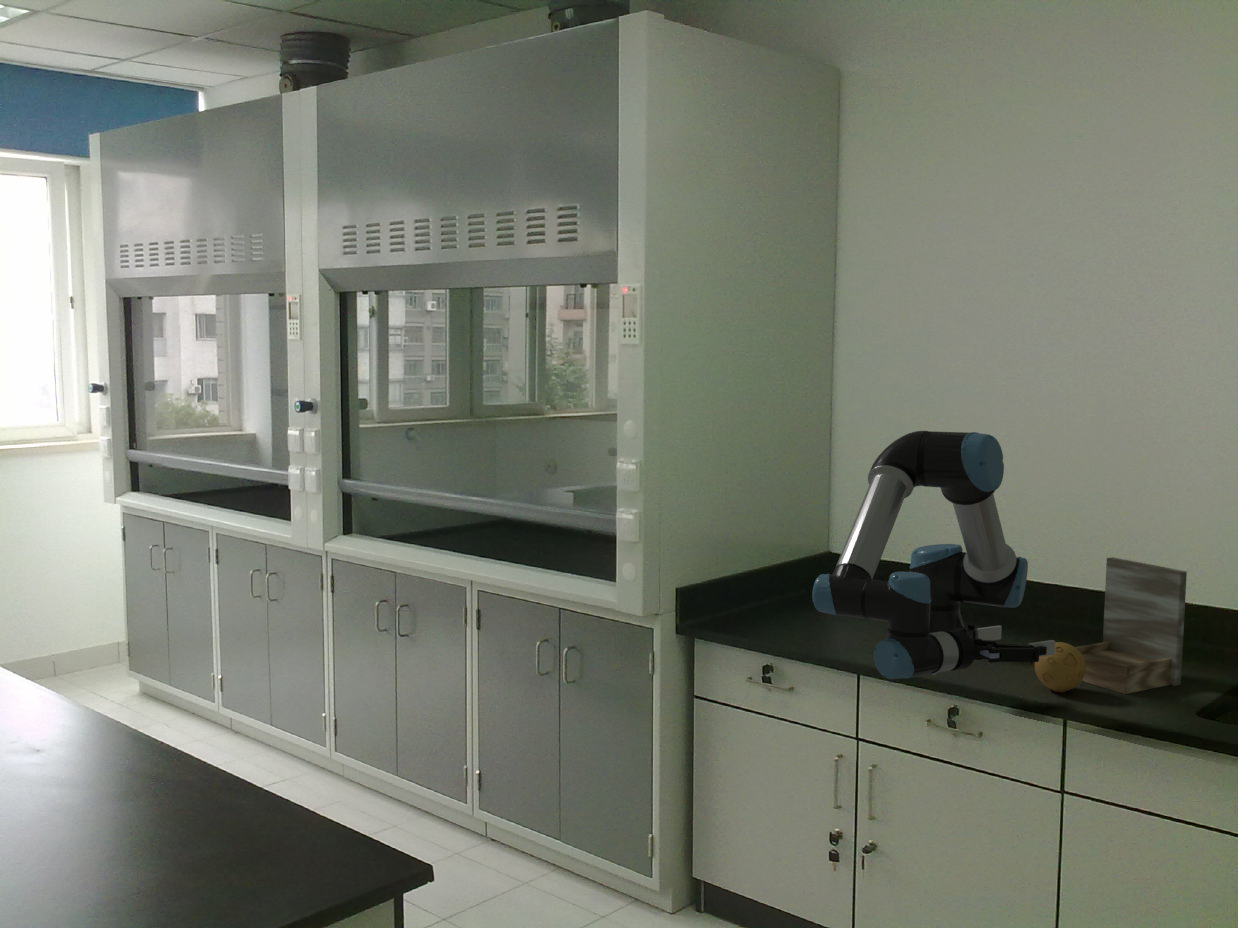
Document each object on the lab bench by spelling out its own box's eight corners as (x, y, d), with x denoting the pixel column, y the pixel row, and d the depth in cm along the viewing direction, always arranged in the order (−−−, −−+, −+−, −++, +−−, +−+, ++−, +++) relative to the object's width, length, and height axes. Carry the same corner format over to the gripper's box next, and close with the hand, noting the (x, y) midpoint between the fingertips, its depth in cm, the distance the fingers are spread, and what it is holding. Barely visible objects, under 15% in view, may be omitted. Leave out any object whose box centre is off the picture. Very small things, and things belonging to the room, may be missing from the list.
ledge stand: (1129, 695, 234) (1134, 578, 232) (1057, 673, 250) (1062, 563, 247) (1180, 684, 242) (1186, 571, 239) (1107, 663, 257) (1112, 557, 255)
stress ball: (1059, 687, 243) (1022, 655, 243) (1094, 656, 239) (1056, 624, 240) (1062, 708, 234) (1024, 676, 234) (1099, 677, 230) (1060, 644, 230)
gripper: (900, 655, 232) (978, 644, 242) (995, 686, 210) (1076, 673, 220) (902, 618, 232) (980, 608, 242) (996, 646, 210) (1078, 634, 220)
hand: (1026, 639), depth 231 cm, fingers open, 13 cm apart
